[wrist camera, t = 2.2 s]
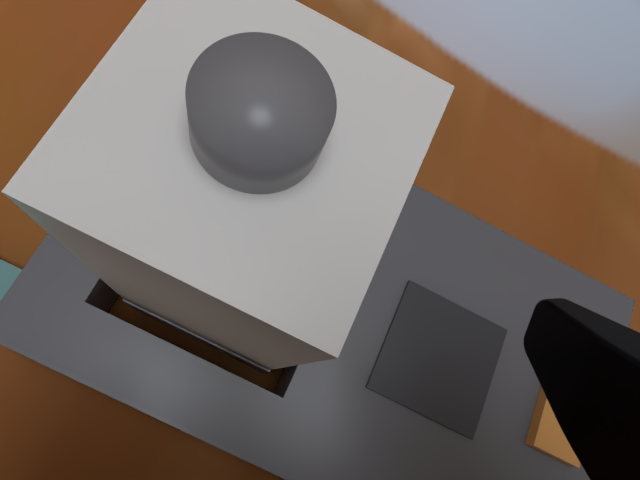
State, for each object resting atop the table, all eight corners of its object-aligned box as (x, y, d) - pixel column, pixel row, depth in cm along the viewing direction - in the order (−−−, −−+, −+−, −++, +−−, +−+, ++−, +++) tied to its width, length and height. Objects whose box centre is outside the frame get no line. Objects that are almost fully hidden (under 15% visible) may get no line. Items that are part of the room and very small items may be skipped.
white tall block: (264, 372, 17) (359, 359, 6) (130, 307, 17) (-43, 161, 6) (324, 247, 19) (488, 48, 8) (203, 185, 19) (185, -118, 7)
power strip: (505, 573, 17) (574, 618, 14) (20, 342, 16) (-31, 332, 13) (576, 311, 20) (645, 298, 17) (177, 104, 19) (169, 48, 16)
